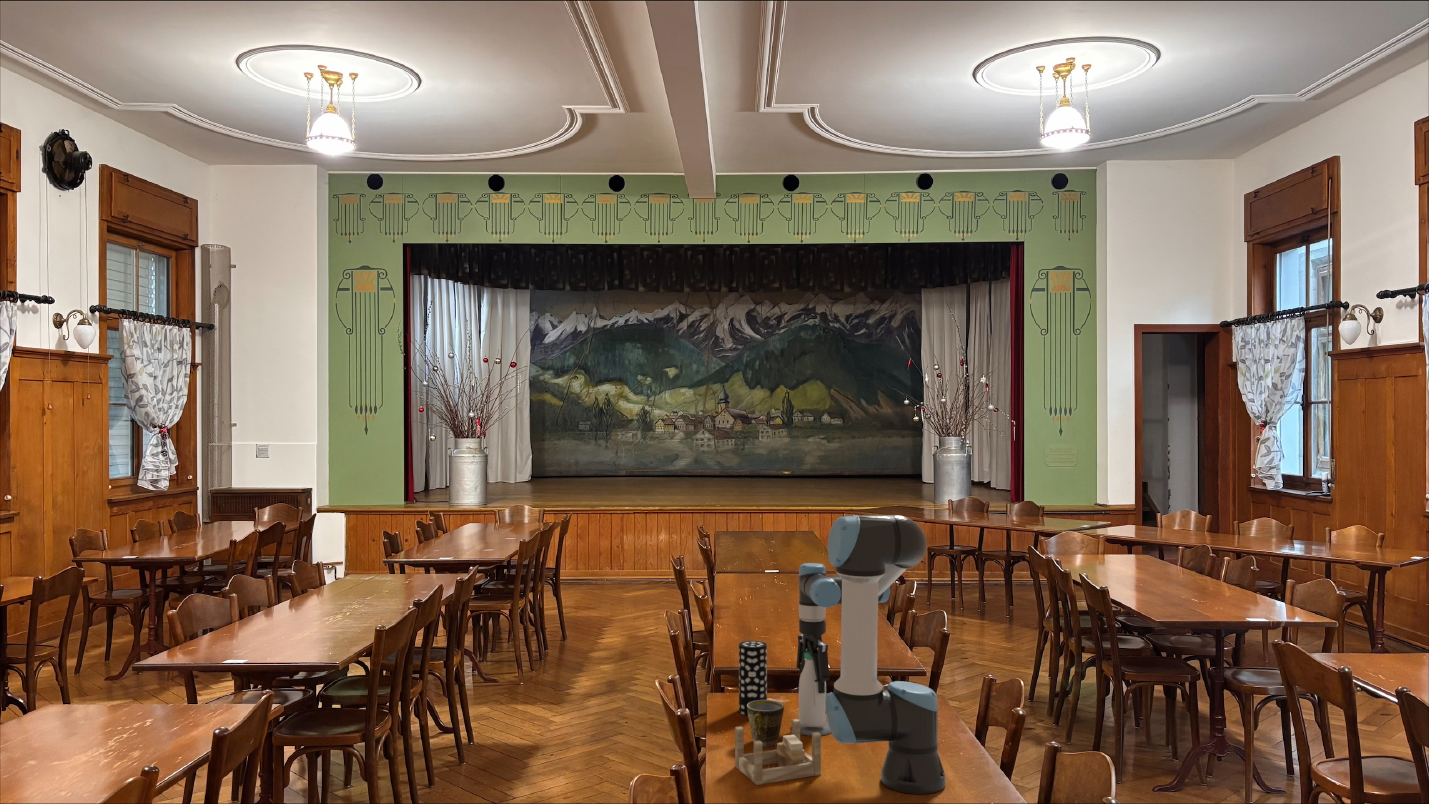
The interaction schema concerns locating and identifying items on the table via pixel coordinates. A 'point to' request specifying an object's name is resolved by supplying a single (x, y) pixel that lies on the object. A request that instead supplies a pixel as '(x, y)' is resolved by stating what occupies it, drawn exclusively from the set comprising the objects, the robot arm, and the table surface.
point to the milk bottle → (810, 697)
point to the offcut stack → (790, 751)
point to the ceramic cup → (765, 720)
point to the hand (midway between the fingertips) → (812, 699)
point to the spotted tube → (752, 673)
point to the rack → (775, 759)
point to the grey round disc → (815, 730)
